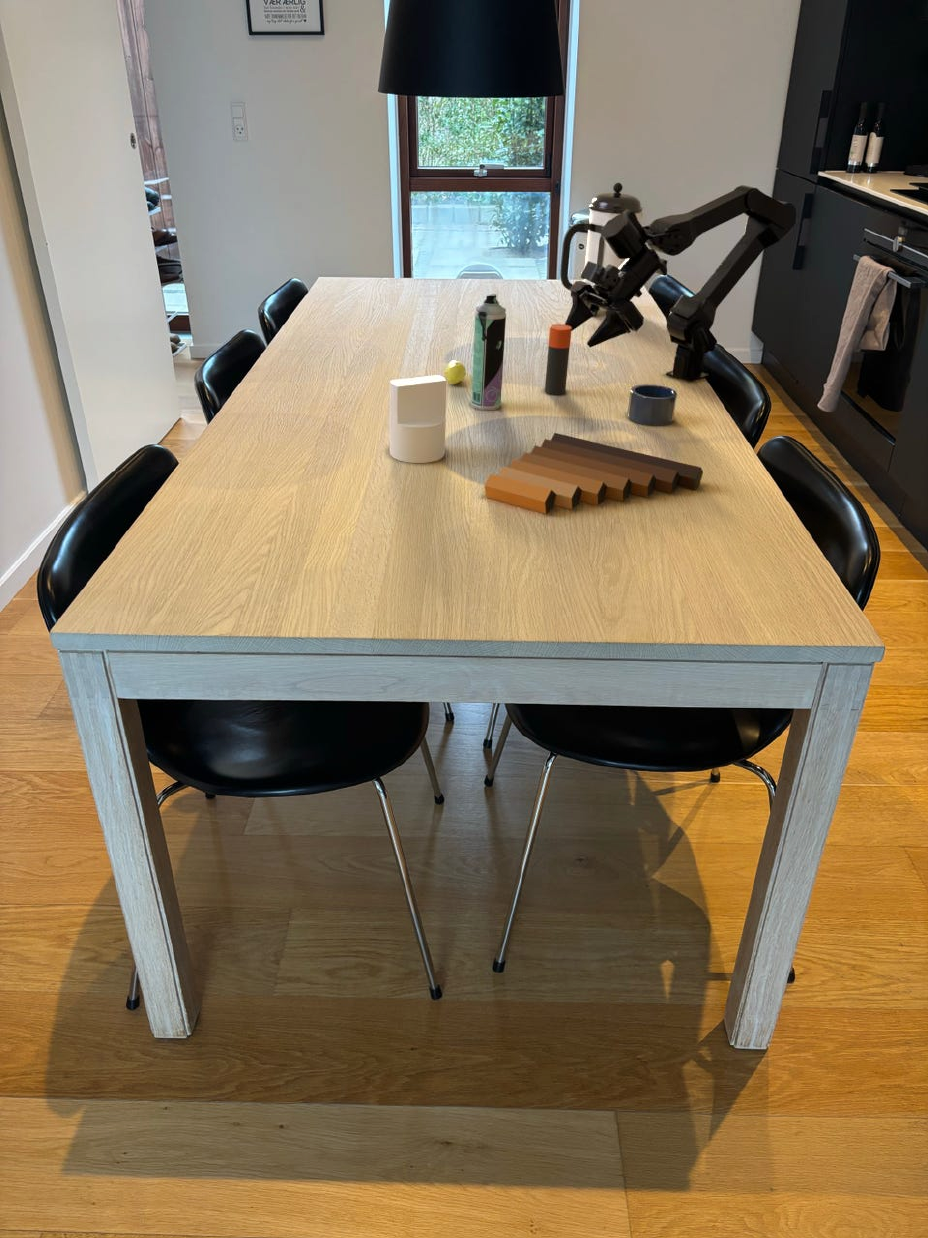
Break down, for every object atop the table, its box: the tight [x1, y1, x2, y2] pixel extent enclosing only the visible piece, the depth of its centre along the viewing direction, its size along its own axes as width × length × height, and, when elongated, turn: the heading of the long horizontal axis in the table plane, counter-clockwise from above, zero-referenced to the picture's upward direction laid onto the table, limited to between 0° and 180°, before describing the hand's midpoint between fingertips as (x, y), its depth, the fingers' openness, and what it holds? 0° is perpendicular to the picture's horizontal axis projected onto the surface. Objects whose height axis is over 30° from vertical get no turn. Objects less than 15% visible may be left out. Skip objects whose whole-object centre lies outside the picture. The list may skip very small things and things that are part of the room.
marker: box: [544, 323, 572, 396], centre depth 185 cm, size 4×4×12 cm
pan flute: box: [484, 432, 704, 515], centre depth 146 cm, size 25×3×25 cm
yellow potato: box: [444, 360, 467, 385], centre depth 190 cm, size 4×8×4 cm, turn 172°
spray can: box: [470, 293, 507, 411], centre depth 174 cm, size 6×6×20 cm
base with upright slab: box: [389, 374, 447, 464], centre depth 155 cm, size 9×9×12 cm
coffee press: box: [559, 182, 646, 317], centre depth 237 cm, size 17×16×30 cm
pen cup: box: [627, 383, 678, 427], centre depth 175 cm, size 8×8×5 cm
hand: (575, 339), depth 184 cm, fingers open, 9 cm apart
